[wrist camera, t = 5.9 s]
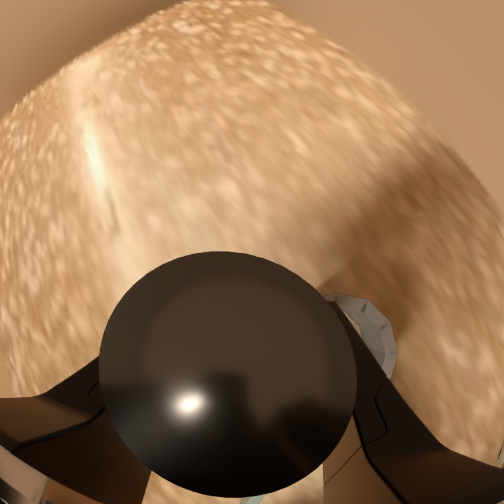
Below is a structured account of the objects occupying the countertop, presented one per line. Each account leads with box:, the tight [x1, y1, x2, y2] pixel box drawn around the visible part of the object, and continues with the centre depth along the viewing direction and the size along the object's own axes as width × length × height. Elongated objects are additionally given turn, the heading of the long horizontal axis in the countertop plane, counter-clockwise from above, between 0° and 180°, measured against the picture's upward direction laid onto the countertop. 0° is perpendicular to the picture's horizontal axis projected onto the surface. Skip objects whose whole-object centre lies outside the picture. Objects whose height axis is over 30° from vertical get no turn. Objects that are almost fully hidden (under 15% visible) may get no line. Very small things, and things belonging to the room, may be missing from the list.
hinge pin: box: [99, 251, 357, 498], centre depth 10 cm, size 4×4×12 cm
